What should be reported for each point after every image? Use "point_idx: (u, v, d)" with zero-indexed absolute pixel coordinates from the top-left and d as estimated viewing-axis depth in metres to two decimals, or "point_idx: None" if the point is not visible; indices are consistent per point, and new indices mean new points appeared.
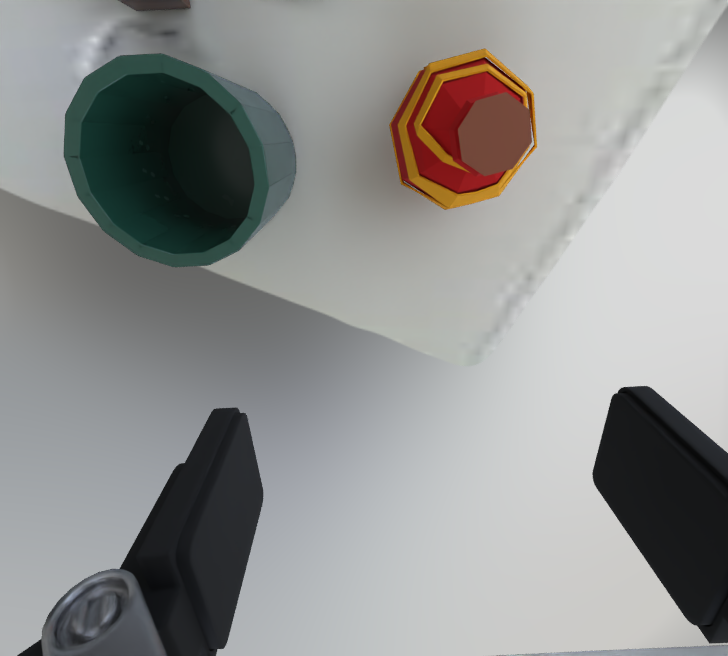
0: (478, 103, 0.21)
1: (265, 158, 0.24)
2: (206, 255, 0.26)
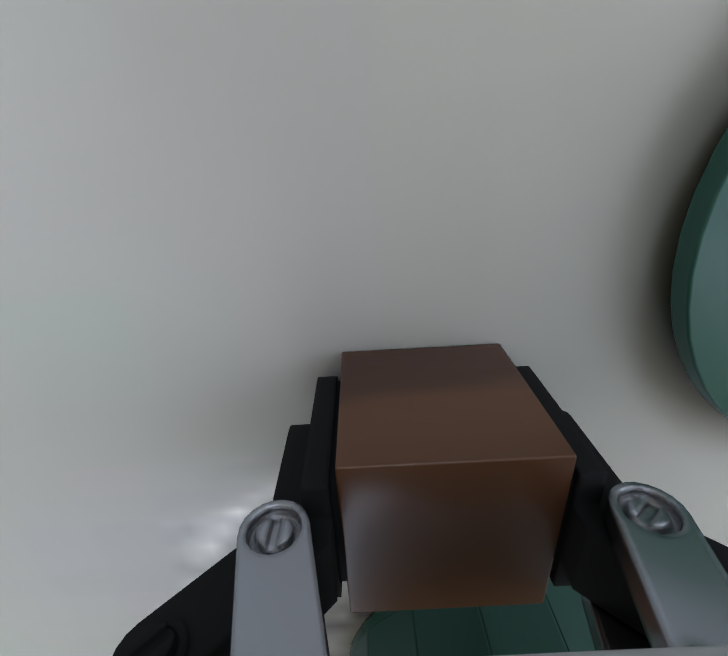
0: None
1: None
2: None
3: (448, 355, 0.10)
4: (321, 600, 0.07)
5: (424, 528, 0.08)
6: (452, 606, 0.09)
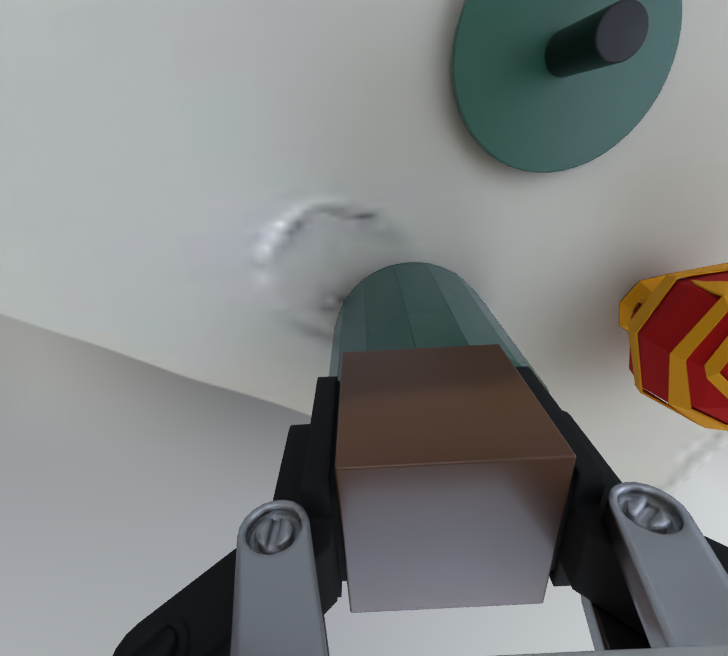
0: None
1: None
2: None
3: (448, 354, 0.10)
4: (321, 600, 0.07)
5: (424, 528, 0.08)
6: (451, 606, 0.09)
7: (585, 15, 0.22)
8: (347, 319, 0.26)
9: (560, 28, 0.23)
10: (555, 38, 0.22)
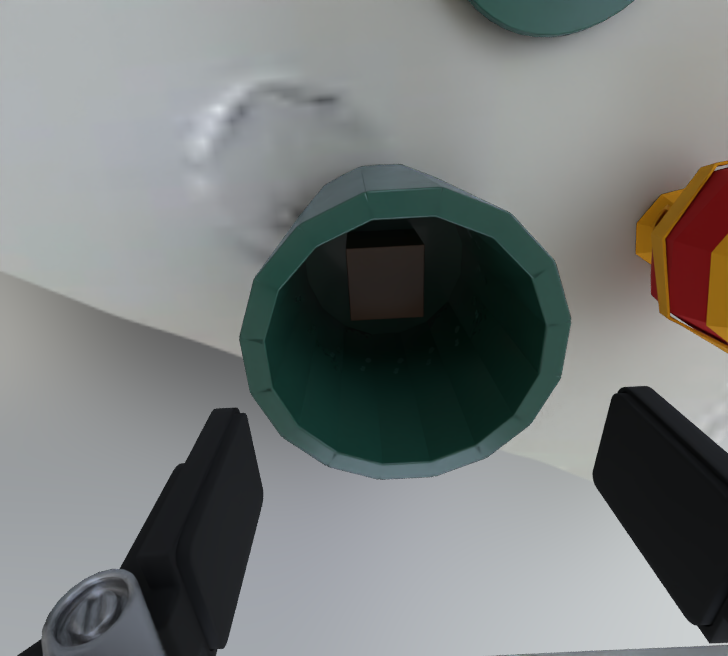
0: None
1: None
2: (433, 464, 0.17)
3: (391, 231, 0.25)
4: None
5: (376, 276, 0.22)
6: (389, 317, 0.23)
7: None
8: (297, 219, 0.21)
9: None
10: None
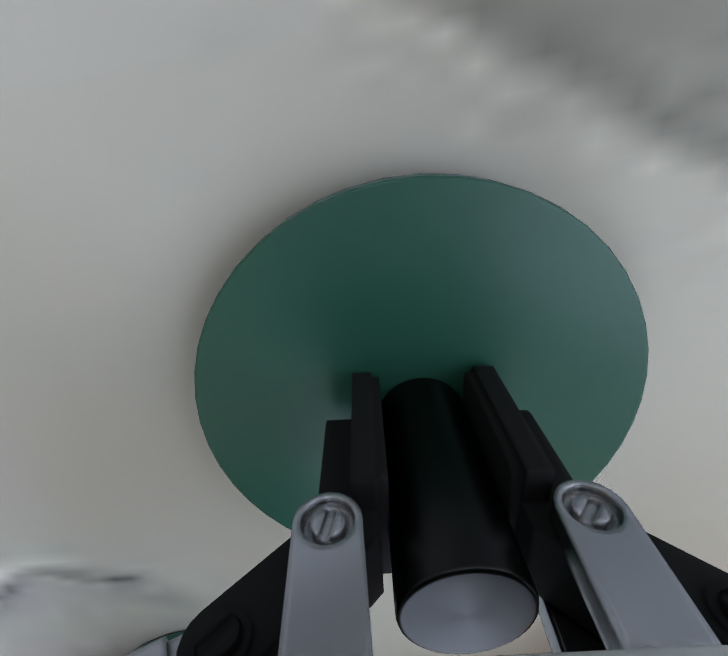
0: None
1: None
2: None
3: None
4: (368, 597, 0.07)
5: None
6: None
7: (451, 359, 0.11)
8: None
9: (404, 377, 0.11)
10: (386, 414, 0.11)
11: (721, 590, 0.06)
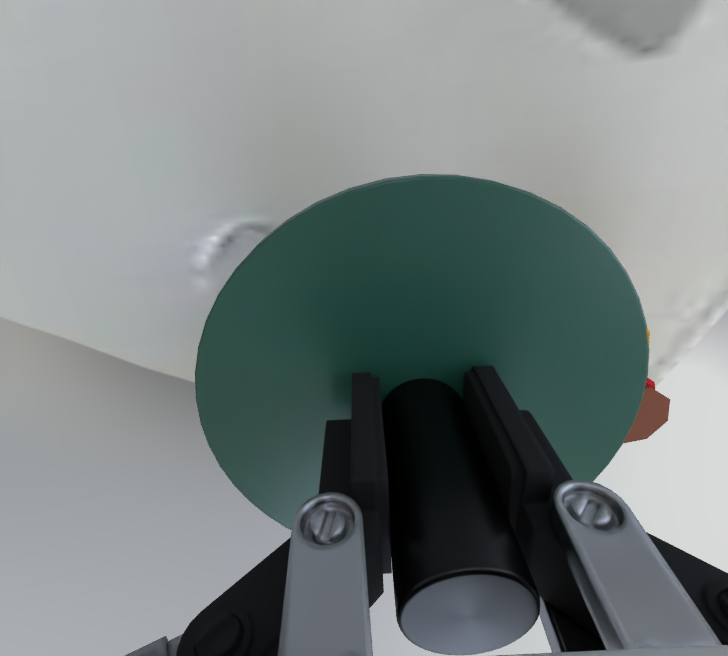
0: None
1: None
2: None
3: None
4: (368, 597, 0.07)
5: None
6: None
7: (452, 360, 0.11)
8: None
9: (404, 378, 0.11)
10: (386, 415, 0.11)
11: (721, 590, 0.06)
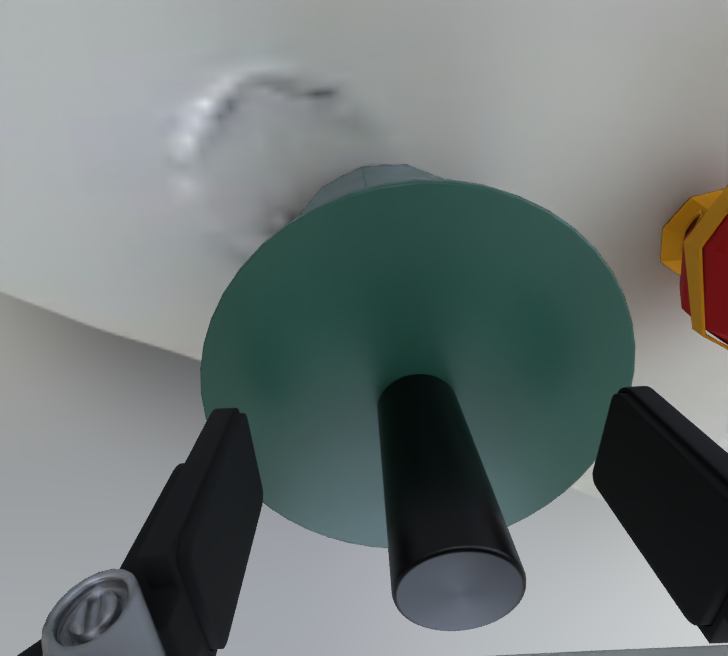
0: None
1: None
2: None
3: None
4: None
5: None
6: None
7: (446, 356, 0.11)
8: None
9: (401, 373, 0.12)
10: (384, 408, 0.11)
11: None
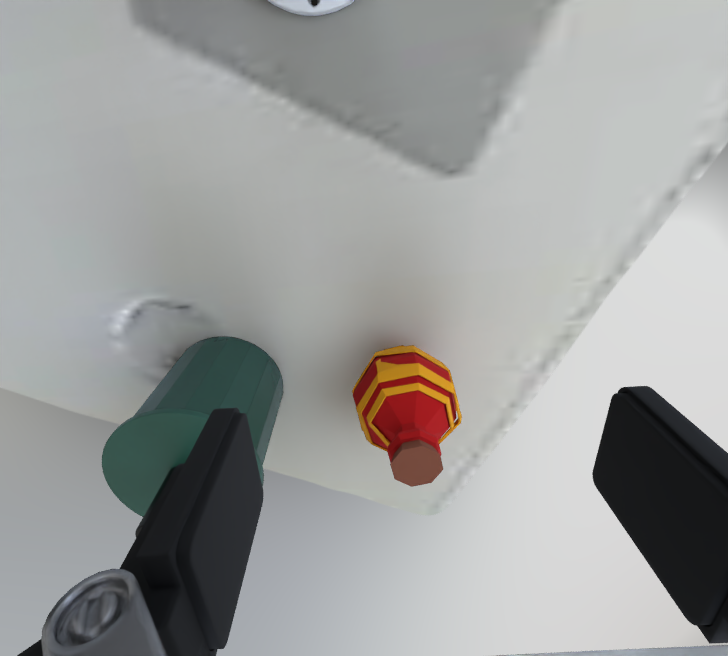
0: (403, 451, 0.30)
1: None
2: None
3: None
4: None
5: None
6: None
7: None
8: None
9: (174, 465, 0.32)
10: (164, 479, 0.32)
11: None
